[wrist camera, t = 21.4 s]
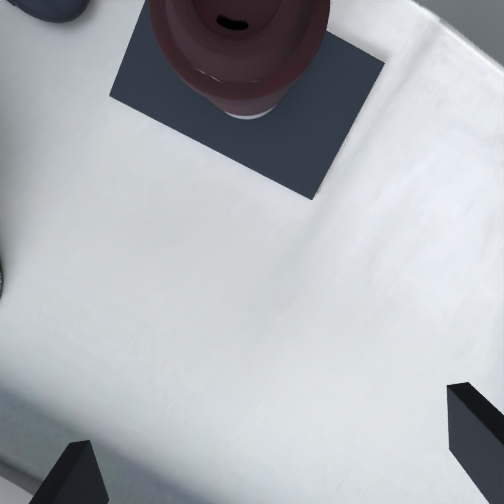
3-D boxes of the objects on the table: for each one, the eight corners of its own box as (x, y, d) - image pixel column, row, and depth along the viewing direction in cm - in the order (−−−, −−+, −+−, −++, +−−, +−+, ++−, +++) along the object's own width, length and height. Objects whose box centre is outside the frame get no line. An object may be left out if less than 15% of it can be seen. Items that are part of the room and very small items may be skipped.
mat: (111, 97, 32) (108, 95, 31) (169, -54, 29) (167, -59, 29) (311, 199, 34) (312, 200, 33) (382, 65, 31) (385, 62, 30)
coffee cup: (247, -6, 29) (237, -195, 15) (322, 79, 31) (380, -16, 16) (172, 78, 31) (95, -16, 16) (246, 156, 32) (236, 134, 18)
